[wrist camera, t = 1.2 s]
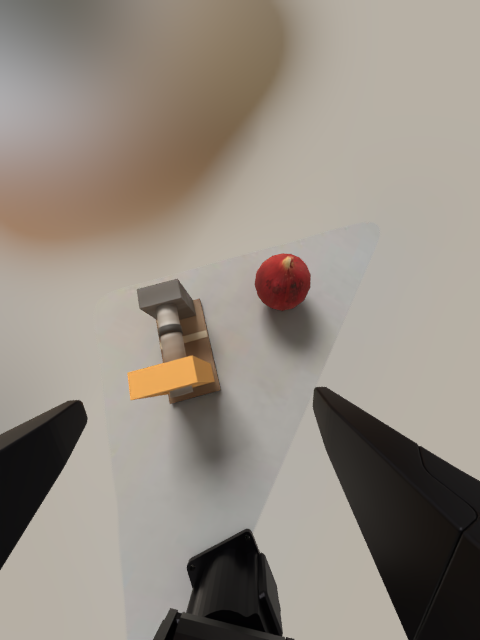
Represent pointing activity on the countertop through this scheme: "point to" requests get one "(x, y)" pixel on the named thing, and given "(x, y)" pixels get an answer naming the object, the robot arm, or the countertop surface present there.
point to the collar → (169, 377)
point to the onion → (282, 281)
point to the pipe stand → (179, 330)
